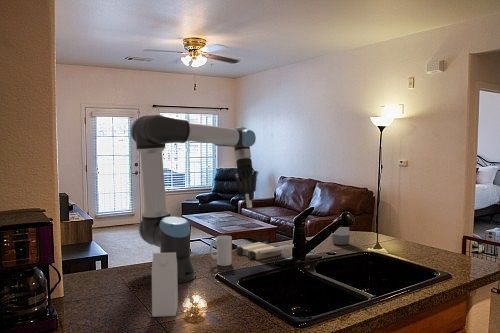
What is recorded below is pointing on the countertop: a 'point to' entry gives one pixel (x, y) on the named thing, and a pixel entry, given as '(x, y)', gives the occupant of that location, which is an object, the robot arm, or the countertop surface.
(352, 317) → the countertop surface
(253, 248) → the flatbed
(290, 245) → the panel
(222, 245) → the mug
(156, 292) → the milk carton
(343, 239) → the smart speaker
